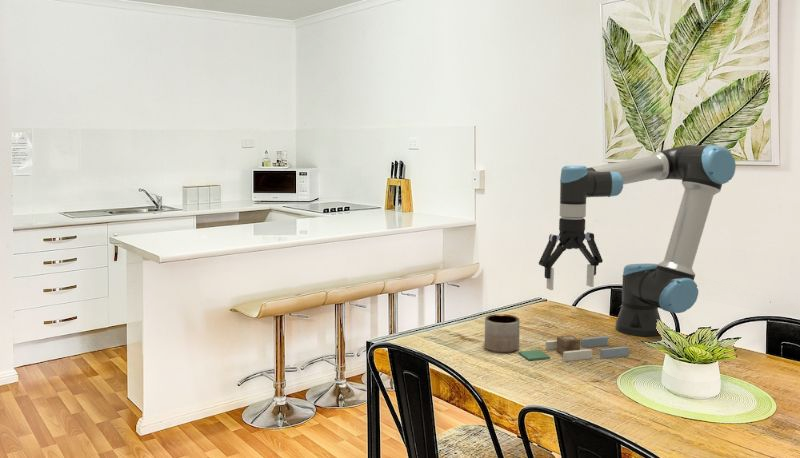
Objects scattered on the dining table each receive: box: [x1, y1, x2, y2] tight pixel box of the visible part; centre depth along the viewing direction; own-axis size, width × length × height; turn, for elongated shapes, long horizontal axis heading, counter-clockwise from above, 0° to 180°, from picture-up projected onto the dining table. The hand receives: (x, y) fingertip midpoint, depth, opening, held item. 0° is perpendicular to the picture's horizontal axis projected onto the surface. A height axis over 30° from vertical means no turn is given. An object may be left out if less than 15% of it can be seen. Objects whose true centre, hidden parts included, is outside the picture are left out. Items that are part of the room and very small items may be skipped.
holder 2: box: [580, 336, 630, 360], centre depth 203 cm, size 9×12×3 cm
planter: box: [483, 313, 521, 354], centre depth 206 cm, size 11×11×10 cm
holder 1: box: [544, 339, 593, 362], centre depth 200 cm, size 9×12×3 cm
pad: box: [517, 349, 551, 362], centre depth 199 cm, size 7×7×1 cm
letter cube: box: [556, 334, 581, 357], centre depth 200 cm, size 5×5×5 cm
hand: (570, 287), depth 198 cm, fingers open, 13 cm apart
